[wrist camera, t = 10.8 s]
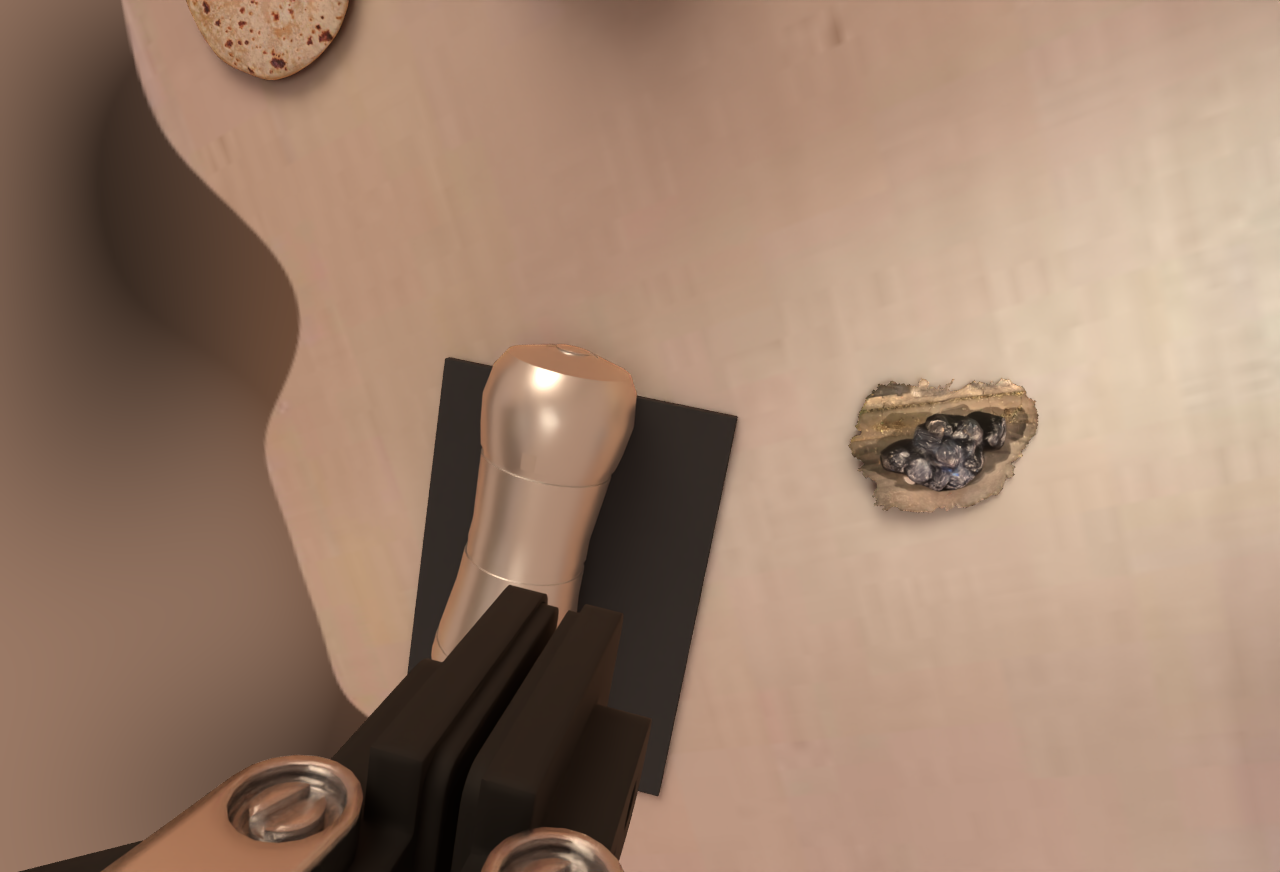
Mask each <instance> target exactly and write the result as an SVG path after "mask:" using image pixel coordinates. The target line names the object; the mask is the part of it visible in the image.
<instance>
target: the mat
mask: <svg viewBox="0 0 1280 872" xmlns="http://www.w3.org/2000/svg"><path fill="white" fill-rule="evenodd" d="M492 367H493V366H489V365H484V364H479V363H474V362H469V361H465V360H460V359H455V358H450V357H449V358H446V359H445V364H444V373H443V381H442V389H441V398H440V406H439V415H438V423H437V431H436V440H435V448H434V456H433V465H432V473H431V481H430V490H429V498H428V507H427V515H426V523H425V532H424V540H423V548H422V557H421V565H420V574H419V582H418V590H417V599H416V607H415V615H414V624H413V632H412V640H411V649H410V657H409V666H408V674H409V672H410V671H411V670H412V669H413V668H414V667H415V666H416V665H417V664H418V663H419V662H420V661H421V660H423V659H428V658H429V659H432V656H431V653H432V646H433V642H434V639H435V635H436V631H437V629H438V627H439V624H440V621H441V618H442V615H443V613H444V610H445V607H446V605H447V602H448V599H449V597H450V594H451V591H452V589H453V586H454V583H455V581H456V578H457V575H458V571H459V567H460V564H461V560H462V556H463V552H464V548H465V545H466V544H467V542H468V533H469V530H470V526H471V522H472V519H473V514H474V505H475V497H476V489H477V481H478V473H479V464H480V456H481V449H482V448H483V447H482V445H481V409H482V396H483V391H484V388H485V385H486V383H487V380H488V378H489V375H490V373H491V370H492ZM737 418H738V417H737V416H733V415H728V414H723V413H719V412H714V411H709V410H704V409H699V408H694V407H689V406H684V405H679V404H675V403H670V402H665V401H660V400H655V399H650V398H645V397H640V396H637V397H636V409H635V420H634V428H633V431H632V433H631V436H630V438H629V441H628V443H627V446H626V449H625V451H624V454H623V456H622V458H621V460H620V462H619V464H618V466H617V468H616V470H615V471H614V472H613V473H612V474H611V479H610V482H609V485H608V488H607V491H606V494H605V497H604V500H603V503H602V506H601V509H600V511H599V514H598V517H597V520H596V523H595V526H594V529H593V532H592V535H591V538H590V541H589V546H588V551H587V556H586V560H585V562H584V571H583V576H582V581H581V586H580V591H579V596H578V606H577V612H578V613H580V612H581V610H582V608H583V607H584V605H585V604H588V605H592V606H596V607H600V608H604V609H608V610H612V611H616V612H620V613H623V625H622V630H621V636H620V641H619V646H618V652H617V657H616V662H615V668H614V673H613V678H612V683H611V689H610V694H609V699H608V705H607V707H611V708H615V709H618V710H622V711H626V712H629V713H633V714H637V715H641V716H644V717H648V718H652V724H651V730H650V735H649V740H648V745H647V750H646V755H645V760H644V764H643V769H642V774H641V778H640V783H639V787H638V791H640V792H644V793H648V794H652V795H655V796H659V792H660V788H661V783H662V778H663V773H664V769H665V764H666V759H667V754H668V749H669V745H670V740H671V735H672V730H673V725H674V721H675V716H676V711H677V706H678V701H679V697H680V692H681V687H682V682H683V677H684V673H685V668H686V663H687V658H688V653H689V649H690V644H691V639H692V634H693V629H694V625H695V620H696V615H697V610H698V605H699V601H700V596H701V591H702V586H703V581H704V577H705V572H706V567H707V562H708V557H709V553H710V548H711V543H712V538H713V533H714V529H715V524H716V519H717V514H718V509H719V505H720V500H721V495H722V490H723V485H724V481H725V476H726V471H727V466H728V461H729V456H730V452H731V447H732V442H733V437H734V432H735V428H736V423H737ZM408 674H407V675H408Z"/></svg>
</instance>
